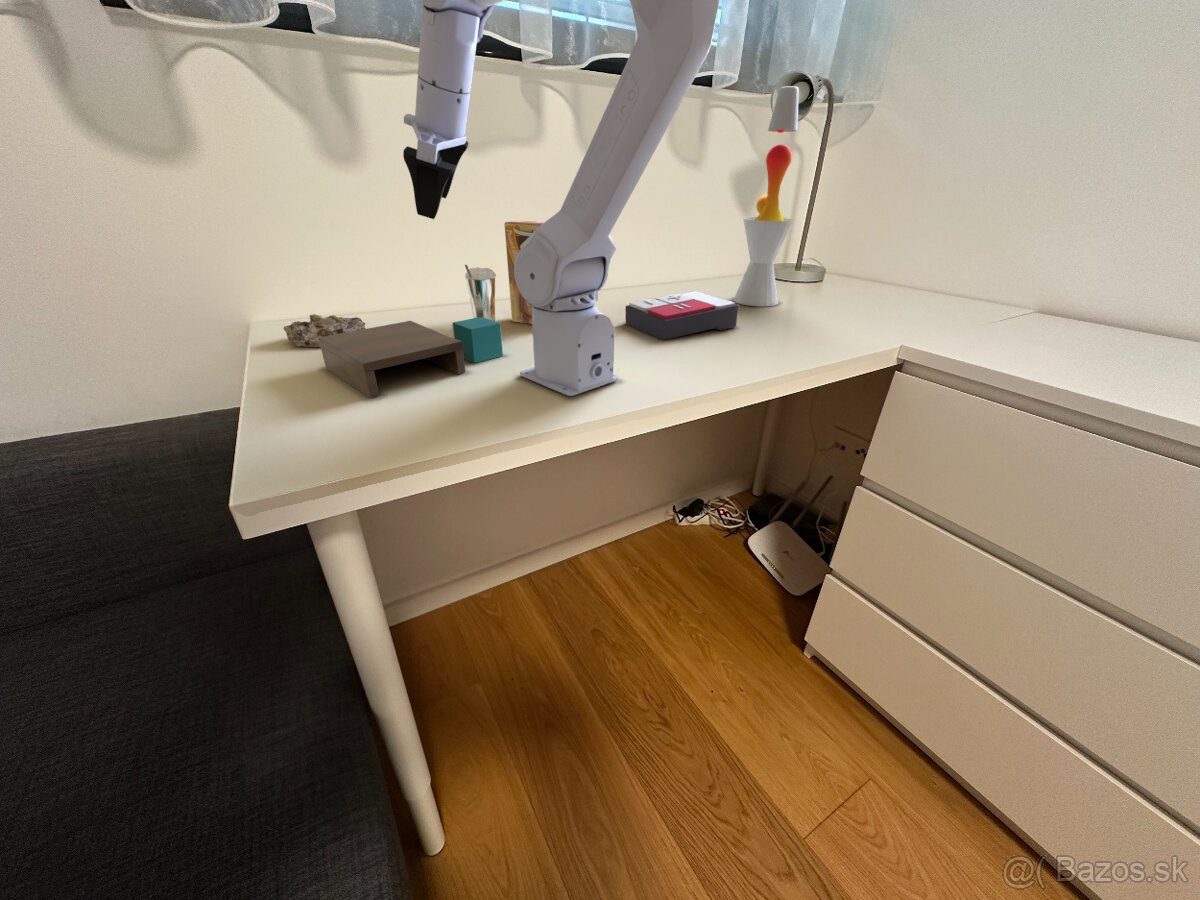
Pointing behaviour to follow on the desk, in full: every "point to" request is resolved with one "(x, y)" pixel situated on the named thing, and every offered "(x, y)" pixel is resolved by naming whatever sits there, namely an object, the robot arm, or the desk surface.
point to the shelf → (387, 352)
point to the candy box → (515, 240)
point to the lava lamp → (769, 211)
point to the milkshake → (481, 291)
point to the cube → (479, 338)
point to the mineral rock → (320, 329)
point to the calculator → (681, 314)
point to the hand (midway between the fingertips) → (432, 205)
